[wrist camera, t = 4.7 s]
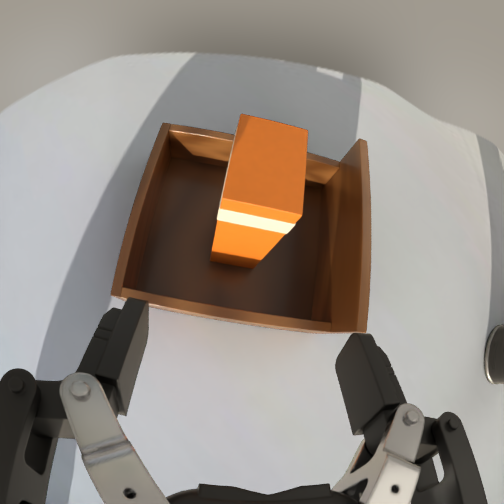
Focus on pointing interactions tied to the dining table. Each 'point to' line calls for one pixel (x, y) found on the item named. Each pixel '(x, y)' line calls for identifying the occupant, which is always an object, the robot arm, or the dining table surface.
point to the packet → (260, 190)
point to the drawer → (272, 265)
